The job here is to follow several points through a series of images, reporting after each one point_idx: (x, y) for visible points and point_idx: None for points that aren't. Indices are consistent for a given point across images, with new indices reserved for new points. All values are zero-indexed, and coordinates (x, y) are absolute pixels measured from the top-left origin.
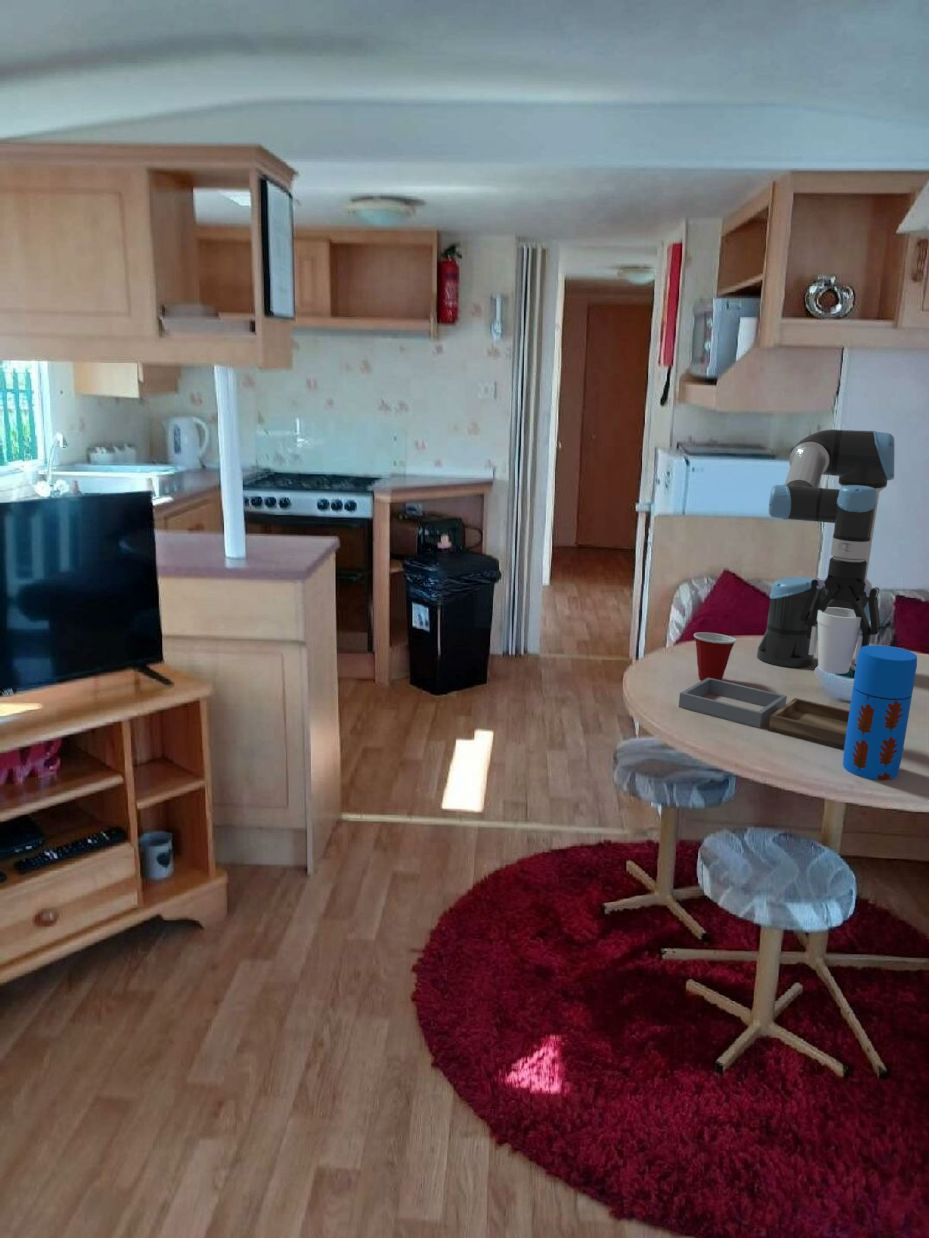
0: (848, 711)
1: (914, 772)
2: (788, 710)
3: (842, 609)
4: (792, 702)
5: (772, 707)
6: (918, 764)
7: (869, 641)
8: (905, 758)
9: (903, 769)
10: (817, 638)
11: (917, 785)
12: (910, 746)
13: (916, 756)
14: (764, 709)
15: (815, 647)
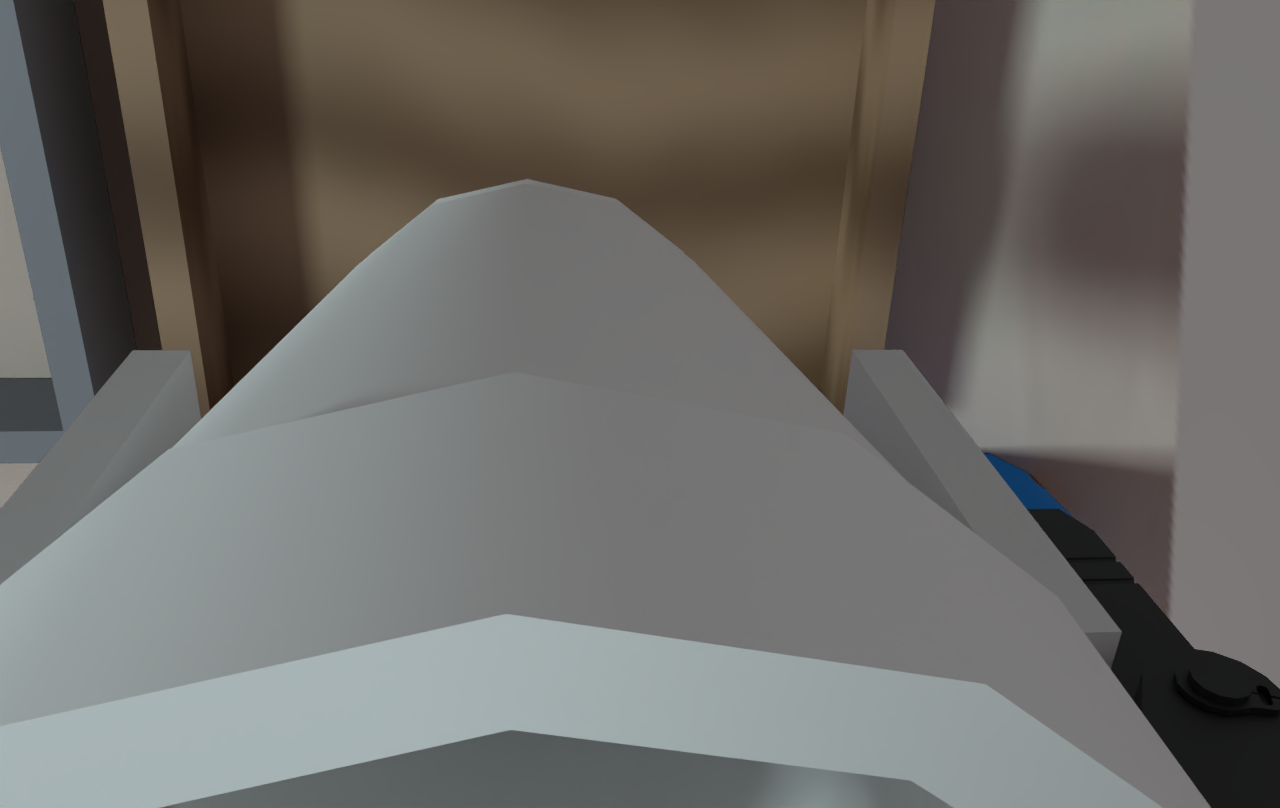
0: None
1: (1149, 458)
2: (179, 128)
3: (328, 743)
4: (133, 2)
5: (66, 223)
6: (1174, 325)
7: (1143, 599)
8: (1100, 280)
9: (1091, 457)
10: (106, 490)
11: (1160, 606)
12: (1131, 17)
13: (1167, 195)
14: (68, 363)
15: (168, 448)
